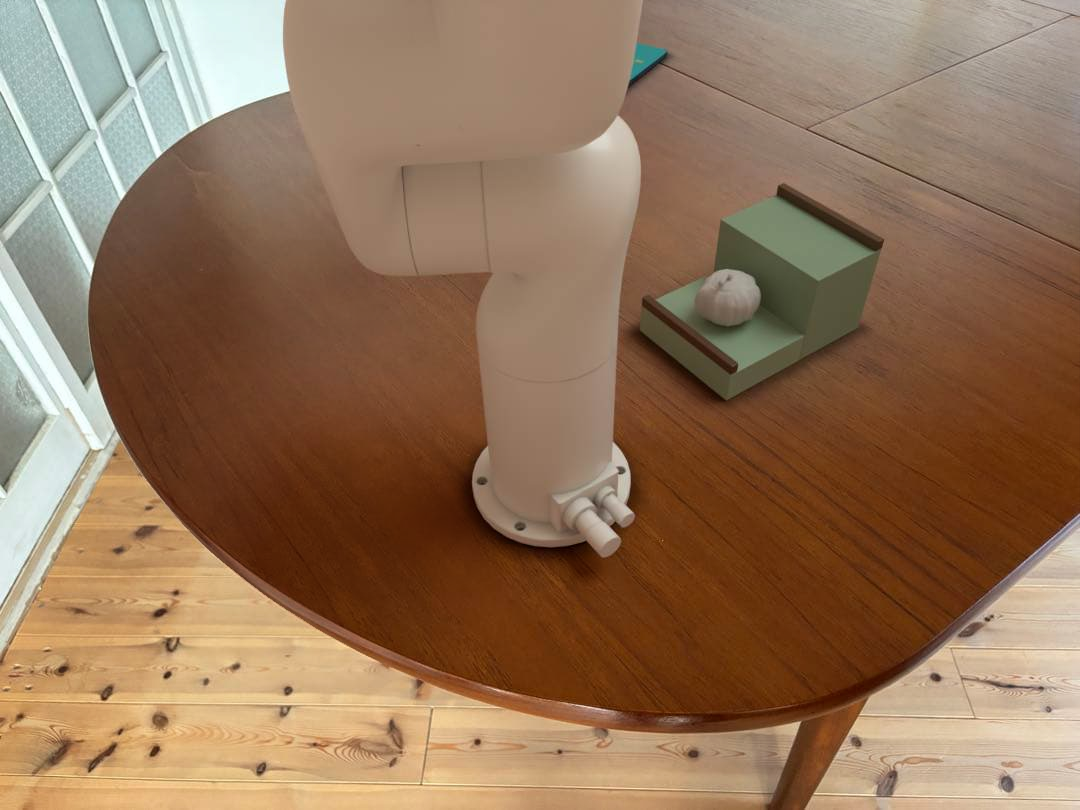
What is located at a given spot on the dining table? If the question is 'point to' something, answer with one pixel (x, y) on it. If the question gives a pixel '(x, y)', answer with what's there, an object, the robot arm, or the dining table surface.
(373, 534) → the dining table surface
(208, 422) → the dining table surface
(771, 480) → the dining table surface
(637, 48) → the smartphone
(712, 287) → the garlic
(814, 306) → the shelf
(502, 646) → the dining table surface
